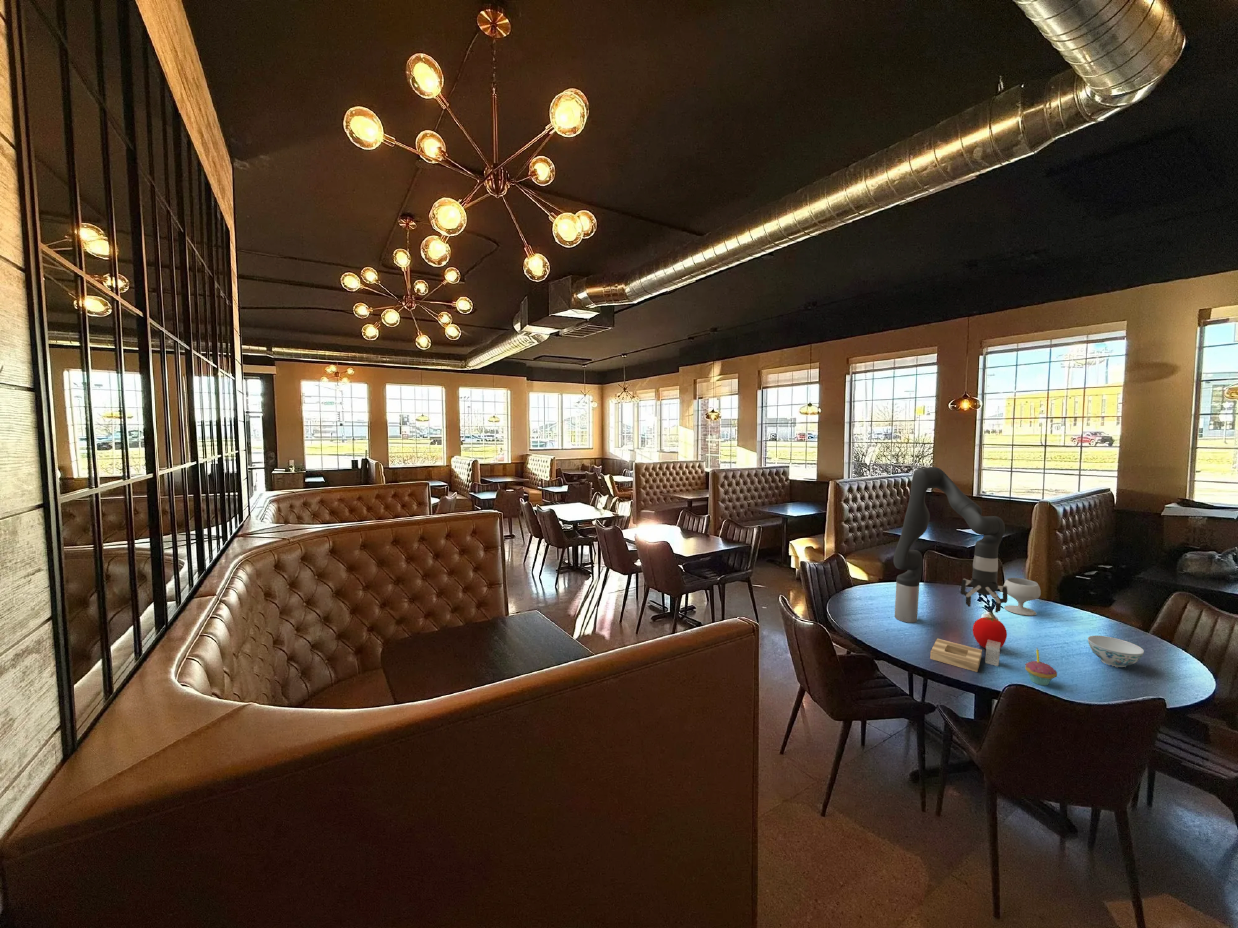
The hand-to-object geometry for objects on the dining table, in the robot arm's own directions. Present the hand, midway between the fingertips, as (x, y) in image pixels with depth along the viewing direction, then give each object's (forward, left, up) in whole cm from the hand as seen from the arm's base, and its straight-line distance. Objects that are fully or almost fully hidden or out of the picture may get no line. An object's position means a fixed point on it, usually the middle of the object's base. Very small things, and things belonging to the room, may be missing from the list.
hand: (982, 608), depth 184 cm
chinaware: (-33, +39, -22) cm, 55 cm away
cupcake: (+3, +18, -22) cm, 28 cm away
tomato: (-17, +2, -22) cm, 28 cm away
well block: (+2, -7, -21) cm, 23 cm away
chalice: (-74, +10, -22) cm, 78 cm away
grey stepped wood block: (-3, +4, -22) cm, 22 cm away
